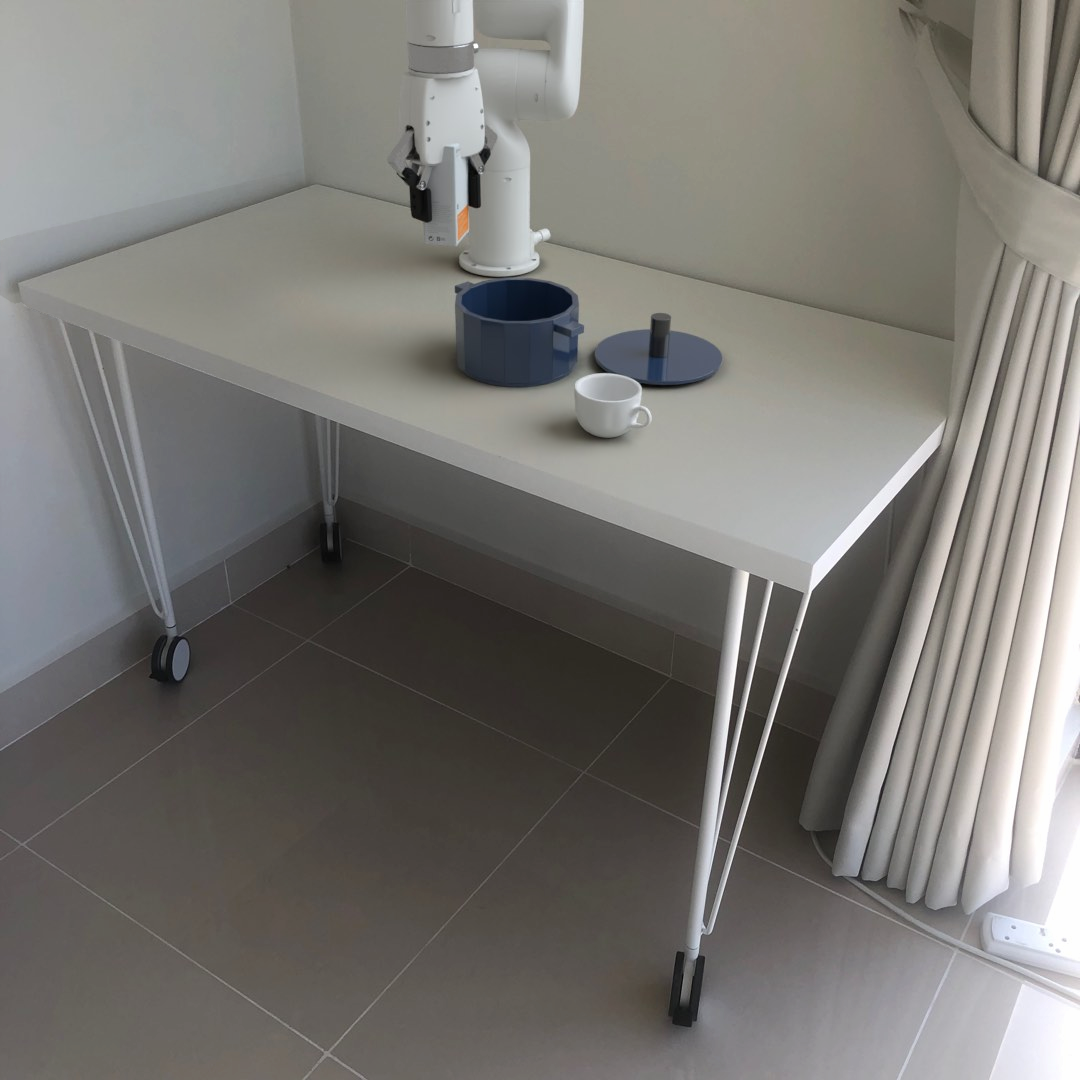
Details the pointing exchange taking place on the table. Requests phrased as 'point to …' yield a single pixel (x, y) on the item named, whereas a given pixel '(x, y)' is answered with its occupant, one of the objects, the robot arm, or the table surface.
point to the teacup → (609, 404)
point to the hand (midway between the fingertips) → (446, 211)
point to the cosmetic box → (448, 199)
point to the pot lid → (659, 354)
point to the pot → (516, 331)
